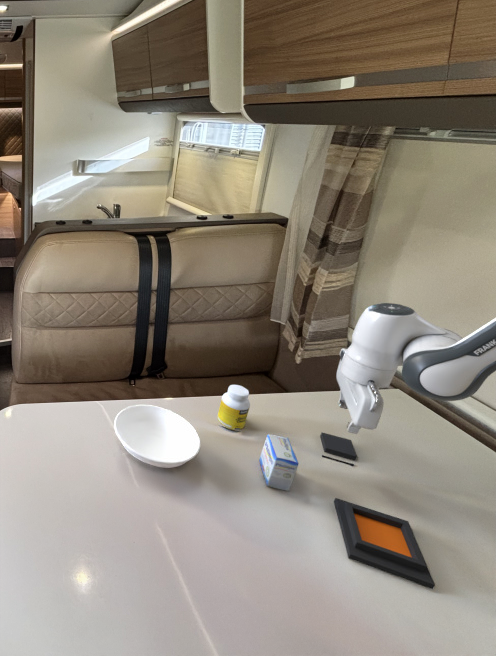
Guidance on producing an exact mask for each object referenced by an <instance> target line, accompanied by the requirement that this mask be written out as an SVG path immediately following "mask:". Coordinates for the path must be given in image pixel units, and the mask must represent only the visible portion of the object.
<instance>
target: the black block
mask: <svg viewBox="0 0 496 656" xmlns="http://www.w3.org/2000/svg"><path fill="white" fill-rule="evenodd" d="M319 437H320V442H321V444H322V449H323V452H324V453H326V454H330V455H333V456H336V457H339V458H343V459H346V460H350V461H354V462H356V460H357V458H358V457H357V456H358V455H357V453H356V449H355V447H354V445H353V441H352V439H349V438H345V437H341V436H338V435H333V434H330V433H326V432H323V431H321V433H320V435H319ZM321 457H322V458H323V459H327V460H331V461H334V462H338V463H340V464H341V463H342V464H344V465H348V466H352V467H353V466H354V465H355V464H354V463H351V462H347V461H345V460H340V459H337V458H334V457H330V456H327V455H323V454H321Z"/></svg>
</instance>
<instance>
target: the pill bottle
mask: <svg viewBox="0 0 496 656" xmlns="http://www.w3.org/2000/svg"><path fill="white" fill-rule="evenodd" d="M249 396H250V391H249V389H247V387H244V386H242V385H241V384H240V385H239V384H230V385H229V386H228V388H227V392H225V393H223V395H222V396H221V400H220V404H219V407H218V412H217V416H216V417H217V420H218V422H219V423H220V425H219V424H218V426H219V428H221V429H223V431H226V432H228V433H232V434H239V433H241V432H242V431H240V430H241V429H243V428H244V427H245V425H246V423H247V418H248V415H249V411H250V408H251V402H250V400H249Z"/></svg>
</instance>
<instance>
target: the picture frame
mask: <svg viewBox="0 0 496 656" xmlns="http://www.w3.org/2000/svg"><path fill="white" fill-rule="evenodd" d="M333 504H334V507H335V511H336V515H337V520H338V523H339V527H340V531H341V536H342V539H343V543H344V546H345V550H346V554H347V558H348V559H350V560H352V561H355V562H358V563H361V564H363V565H366V566H368V567H370V568H374V569H377V570H380V571H382V572H384V573H387V574H390V575H392V576H395V577H398V578H401V579H403V580H406V581H409V582H411V583H414V584H417V585H420V586H423V587H425V588H428V589H430V590H434V588H435V586H436V583H435V582H434V579H433V577H432V574H431V571H430V569H429V567H428V564H427V562H426V559H425V558H424V554H423V553H422V551H421V550H422V549H421V547H420V545H419V543H418V541H417V539H416V536H415V534H414V532H413V529H412V527H411V525H410V522H409V520H406V519H403V518H400V517H397V516H393V515H391V514H388V513H385V512H381V511H378V510H375V509H372V508H370V507H369V508H368V507H365V506H363V505H359V504H356V503H354V502H350V501H347V500H344V499H340V498H338V497H335V498H334V499H333Z"/></svg>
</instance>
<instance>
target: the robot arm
mask: <svg viewBox="0 0 496 656" xmlns="http://www.w3.org/2000/svg"><path fill="white" fill-rule="evenodd" d="M339 358H340V359H339V362H338V366H337V370H336V382H337V384H338V388H339V389H340V390H339V399H338V402H337V404H338V406H339V408H341V409H344V410H348V413H349V416H350V419H351V421H348V422H347V425H346V430H347V432H348V433H349V434H354V435H357V434H358V433H359V431H360V430H361V429H365V430H370V431H374V430H376V429H377V427H378V426H379V423H380V420H381V416H382V414H383V411H384V407H385V406H384V403H385V402H384V398H383V396H382V393H381V391H380V389H385V388H388V387H390V385H391V383H392V381H393V378H394V376H395V374H396V371H397V369H398V367H401V377H402V380H403V381H404V383H405V384H406V386H407V387H408V388H409V389H411V390H412V391H413V392H415V393H416V394H418V395H420V396H422V397H424V398H428V399H431V400H435V401H441V402H456V401H463V400H465V399H468V398H470V397H471V396H473V395H474V394H476V393H477V392H478V390H480V388H481V387H482V385H483V384H484V383H485V381H486V380H487V379H488V378H489V377H490V376H491V375H492V374H494V373H495V372H496V317H494V318H493V319H491V320H490V321H489V322H487V323H486V324H484V325H482V326H481V327H479V328H478V329H476V330H475V331H473V332H471V333H470V334H468V335H466V336H465V337H464V338H463V337H461V336H460V334H458V333H456V332H454V331H453V330H449V329H446V328H443V327H440V326H438V325H436V324H434V323H433V322H430V321H428V320H426V319H425V318H424V317H423V316H421V315H419V313H417V312H416V311H415V309H414V308H411V307H410V306H406V305H402V304H399V303H392V302H381V303H375V304H372V305H370V306H368V307H366V308H365V309H364V310H363V312H362V313H361V315H360V316H359V318H358V320H357V322H356V325H355V327H354V329H353V331H352V335H351V344H350V345H349V346H348V347H347V348H341V349H340V351H339Z"/></svg>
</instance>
